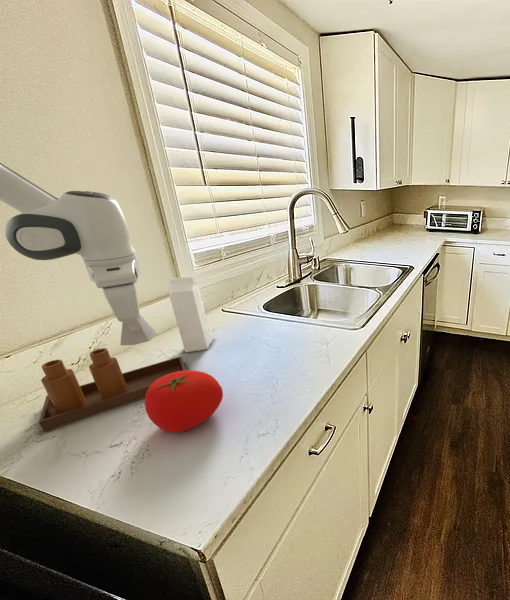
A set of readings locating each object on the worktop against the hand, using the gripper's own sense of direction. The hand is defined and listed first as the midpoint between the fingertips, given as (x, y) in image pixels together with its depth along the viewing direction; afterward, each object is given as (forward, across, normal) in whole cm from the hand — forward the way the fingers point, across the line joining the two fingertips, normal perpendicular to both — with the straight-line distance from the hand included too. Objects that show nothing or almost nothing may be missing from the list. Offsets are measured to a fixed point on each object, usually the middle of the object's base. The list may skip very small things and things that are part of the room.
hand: (134, 325), depth 76 cm
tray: (+16, 0, -6) cm, 17 cm away
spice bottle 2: (+16, 0, -8) cm, 18 cm away
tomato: (+16, +22, +4) cm, 28 cm away
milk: (+16, -14, +12) cm, 25 cm away
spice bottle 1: (+16, 0, -15) cm, 22 cm away
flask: (+4, 0, 0) cm, 4 cm away
